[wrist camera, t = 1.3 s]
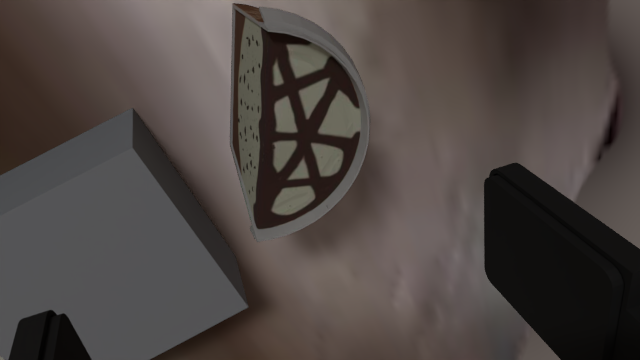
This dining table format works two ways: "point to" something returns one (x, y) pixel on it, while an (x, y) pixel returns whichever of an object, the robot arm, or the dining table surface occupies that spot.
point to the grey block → (112, 246)
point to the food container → (293, 119)
